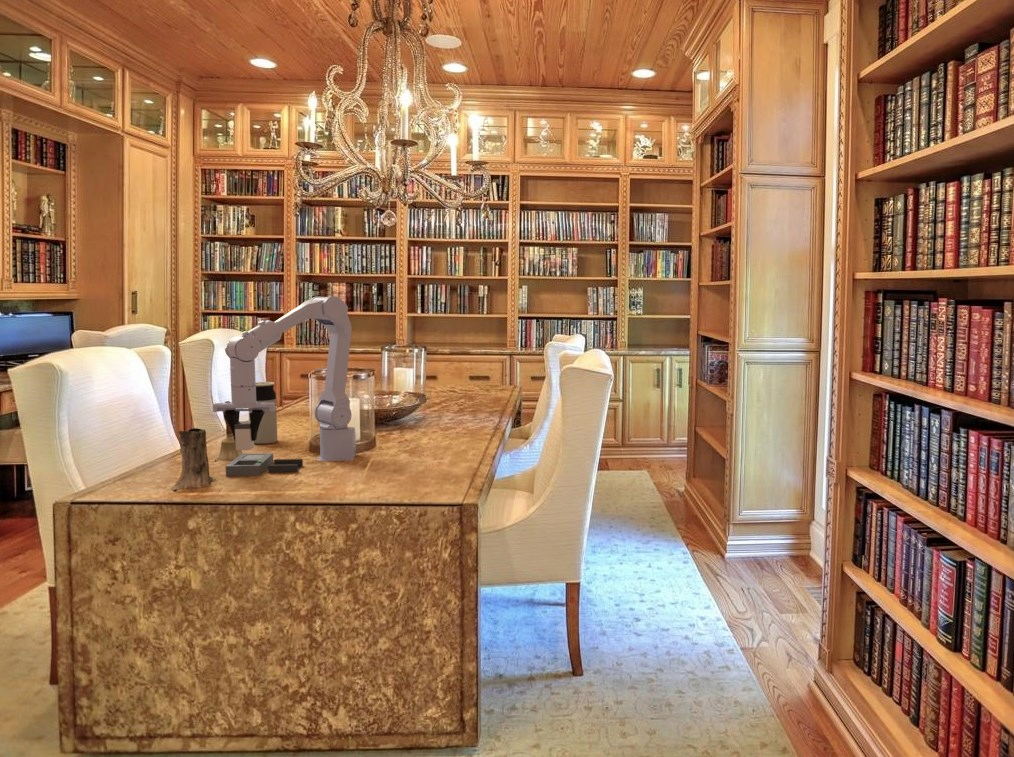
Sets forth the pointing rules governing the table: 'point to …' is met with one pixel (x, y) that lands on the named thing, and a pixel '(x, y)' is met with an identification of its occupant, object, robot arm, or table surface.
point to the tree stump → (193, 460)
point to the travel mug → (266, 414)
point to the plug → (243, 435)
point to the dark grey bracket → (285, 466)
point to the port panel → (249, 464)
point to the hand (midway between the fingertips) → (245, 440)
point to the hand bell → (228, 445)
